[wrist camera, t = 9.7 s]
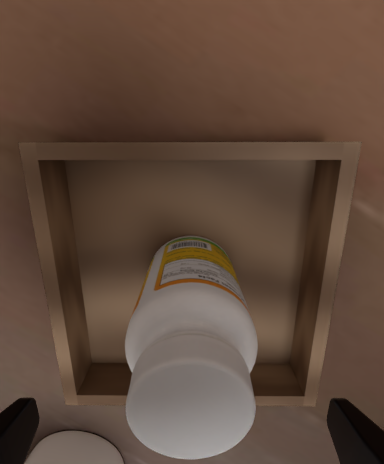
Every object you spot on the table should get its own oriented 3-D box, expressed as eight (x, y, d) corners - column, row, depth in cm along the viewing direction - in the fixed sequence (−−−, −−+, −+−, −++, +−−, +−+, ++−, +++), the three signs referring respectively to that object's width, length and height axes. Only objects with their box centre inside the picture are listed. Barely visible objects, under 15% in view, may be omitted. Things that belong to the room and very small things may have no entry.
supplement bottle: (189, 323, 18) (187, 499, 9) (132, 271, 17) (63, 412, 8) (249, 274, 17) (317, 418, 8) (193, 216, 16) (195, 304, 7)
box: (295, 364, 20) (315, 406, 17) (86, 363, 20) (65, 404, 17) (326, 143, 16) (361, 142, 12) (55, 144, 16) (18, 142, 12)
